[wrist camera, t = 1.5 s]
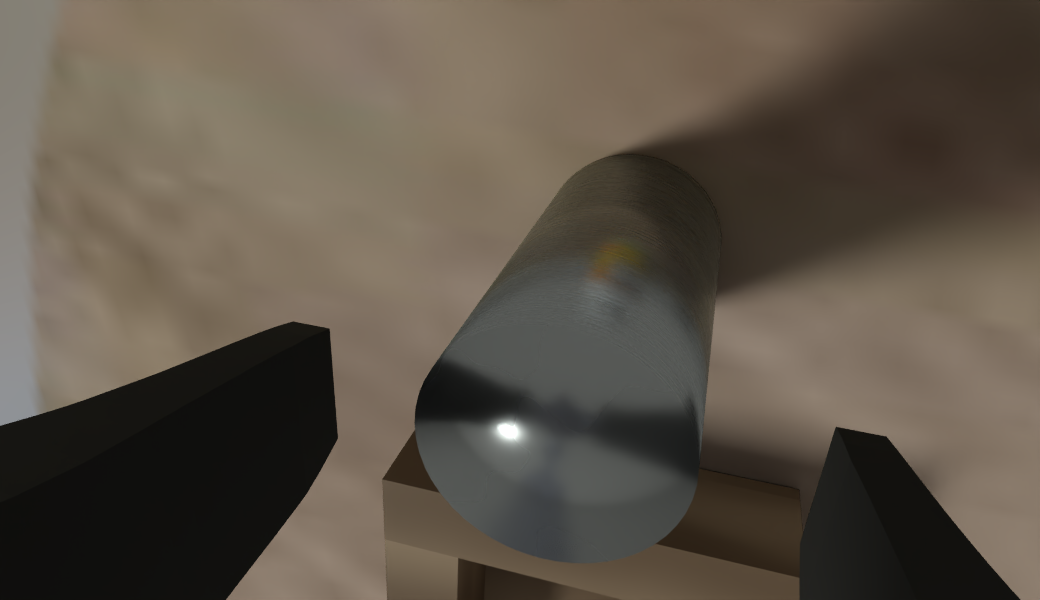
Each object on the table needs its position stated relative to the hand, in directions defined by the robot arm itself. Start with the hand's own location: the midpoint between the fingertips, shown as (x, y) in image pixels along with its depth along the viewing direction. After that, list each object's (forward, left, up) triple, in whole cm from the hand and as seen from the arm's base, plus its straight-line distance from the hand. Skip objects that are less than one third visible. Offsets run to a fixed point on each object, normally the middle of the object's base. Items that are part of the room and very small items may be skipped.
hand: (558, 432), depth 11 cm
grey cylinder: (0, 0, -8) cm, 8 cm away
